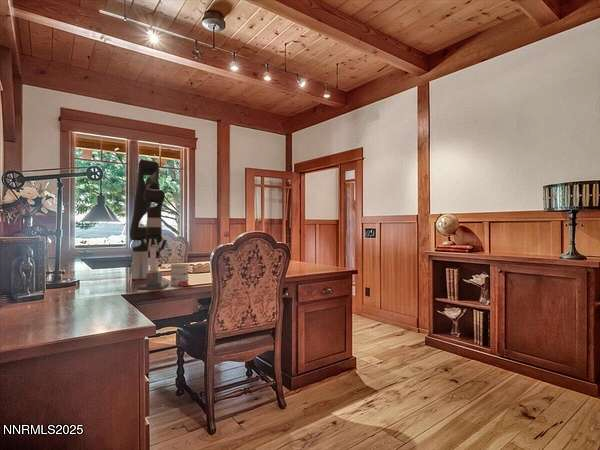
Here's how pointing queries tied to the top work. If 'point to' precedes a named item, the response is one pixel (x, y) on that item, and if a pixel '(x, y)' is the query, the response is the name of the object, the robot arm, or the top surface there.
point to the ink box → (179, 274)
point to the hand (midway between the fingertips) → (153, 258)
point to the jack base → (153, 282)
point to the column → (153, 260)
